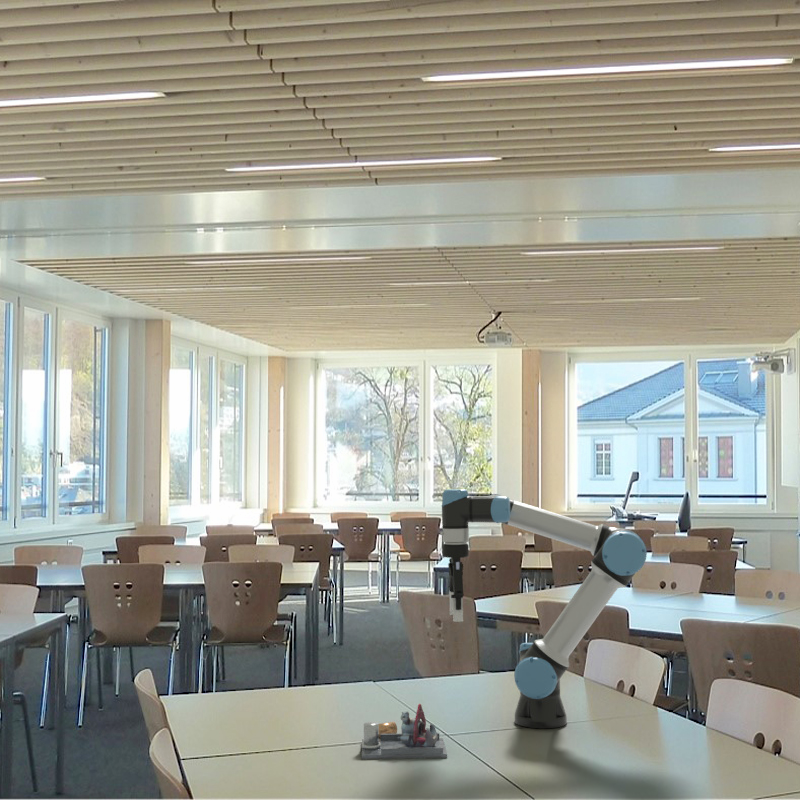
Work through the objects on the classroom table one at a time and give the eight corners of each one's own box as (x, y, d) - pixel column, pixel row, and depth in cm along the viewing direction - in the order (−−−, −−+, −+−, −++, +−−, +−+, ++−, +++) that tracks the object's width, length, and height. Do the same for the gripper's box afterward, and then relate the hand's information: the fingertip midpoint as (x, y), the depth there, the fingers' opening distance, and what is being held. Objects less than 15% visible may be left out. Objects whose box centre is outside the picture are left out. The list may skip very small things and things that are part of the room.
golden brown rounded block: (389, 730, 306) (391, 719, 305) (396, 737, 303) (398, 725, 302) (371, 733, 303) (373, 722, 302) (377, 740, 300) (379, 728, 299)
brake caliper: (439, 743, 280) (412, 704, 282) (407, 767, 282) (380, 728, 284) (449, 733, 291) (422, 695, 293) (418, 756, 293) (392, 718, 295)
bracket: (442, 741, 295) (442, 715, 295) (447, 757, 279) (446, 730, 280) (361, 743, 294) (361, 717, 295) (361, 759, 278) (361, 731, 279)
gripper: (439, 540, 323) (440, 612, 321) (445, 546, 298) (446, 624, 296) (464, 539, 323) (465, 611, 322) (472, 546, 298) (473, 624, 297)
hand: (456, 618), depth 309 cm, fingers open, 13 cm apart
